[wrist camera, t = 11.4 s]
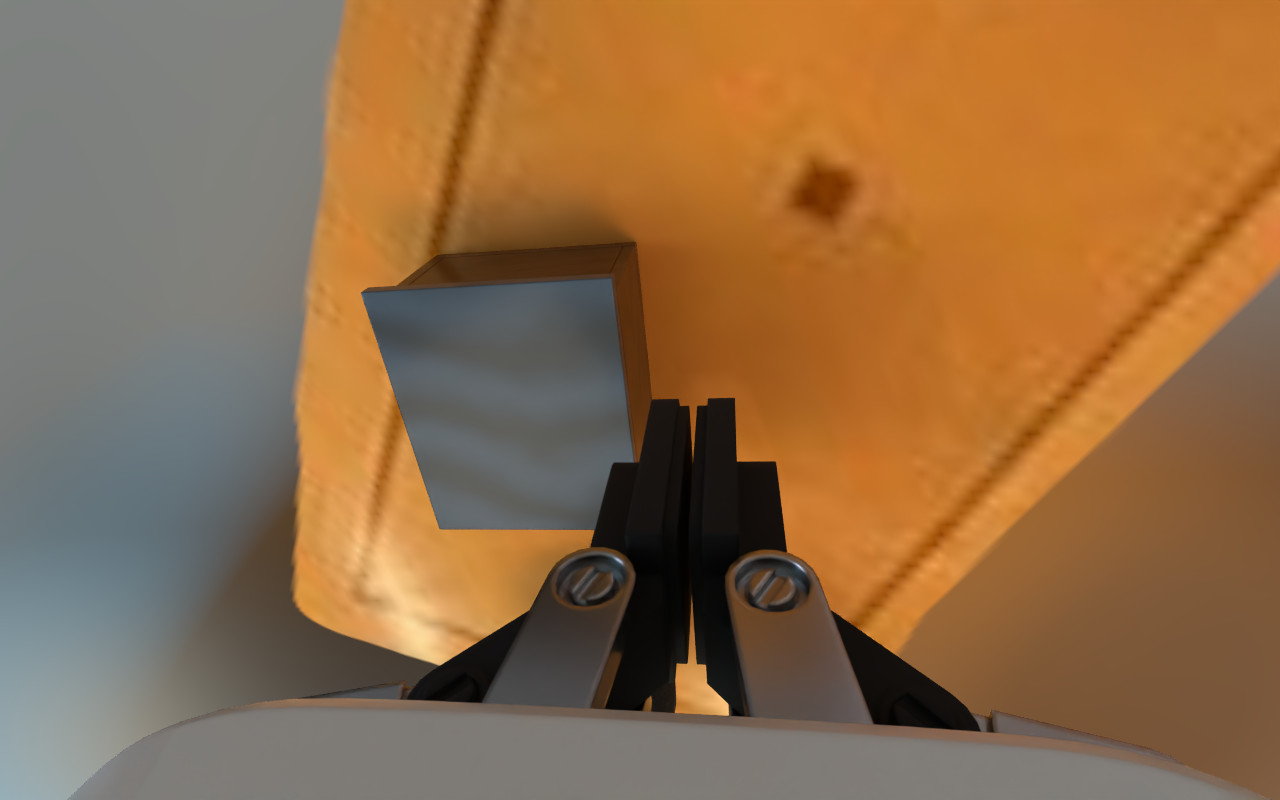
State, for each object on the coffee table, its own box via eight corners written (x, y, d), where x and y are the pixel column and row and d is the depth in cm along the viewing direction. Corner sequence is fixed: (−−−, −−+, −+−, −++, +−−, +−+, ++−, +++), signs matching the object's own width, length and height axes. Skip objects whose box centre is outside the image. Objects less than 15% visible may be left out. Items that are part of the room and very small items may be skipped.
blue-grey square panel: (367, 287, 34) (360, 292, 33) (614, 272, 32) (611, 277, 31) (444, 521, 42) (439, 529, 41) (644, 521, 40) (643, 530, 39)
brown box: (436, 255, 42) (373, 302, 34) (636, 241, 40) (616, 288, 32) (486, 447, 49) (444, 521, 42) (656, 444, 47) (644, 521, 40)
